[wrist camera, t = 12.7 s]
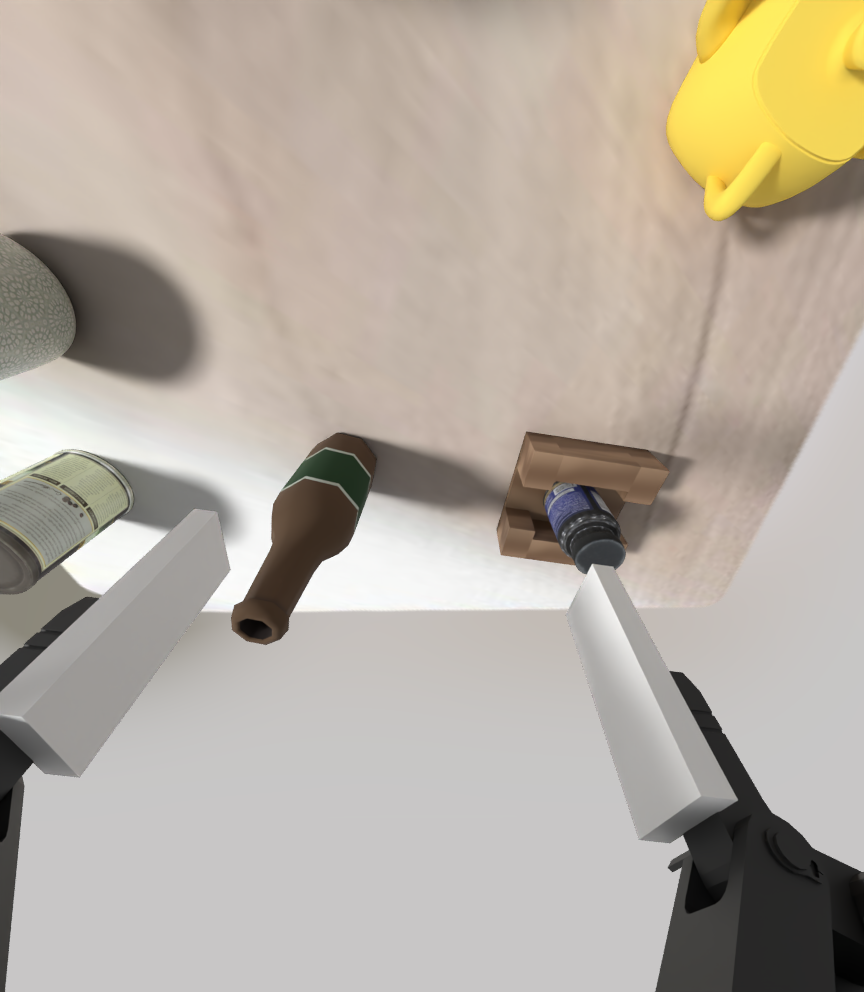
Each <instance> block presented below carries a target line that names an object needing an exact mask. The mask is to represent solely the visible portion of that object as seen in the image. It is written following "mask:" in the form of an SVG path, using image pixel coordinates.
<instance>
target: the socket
mask: <svg viewBox="0 0 864 992" xmlns="http://www.w3.org/2000/svg"><path fill="white" fill-rule="evenodd" d="M669 472H670V471H669V470H668V469H667V468H666V467H665V466H664V465H663V464H662V463H661V462H660V461H658V460H657V459H656V458H655V457H654V456H653V455H652V454H651V453H650V452H649V451H648V450H643V449H637V448H630V447H624V446H617V445H610V444H604V443H597V442H591V441H584V440H578V439H571V438H564V437H558V436H551V435H545V434H538V433H532V432H526V434H525V437H524V441H523V444H522V447H521V450H520V454H519V457H518V460H517V464H516V467H515V470H514V474H513V477H512V480H511V484H510V487H509V490H508V494H507V497H506V500H505V503H504V507H503V510H502V513H501V517H500V520H499V523H498V527H497V535H498V541H499V547H500V553H501V555H504V556H511V557H518V558H526V559H533V560H540V561H547V562H554V563H562V564H569V565H575V563H574V561H573V559H572V558H570V557H569V556H567V555H566V554H565V553H564V552H563V551H562V549H561V547H560V545H559V543H558V540H557V538H556V536H555V533H554V531H553V528H552V526H551V523H550V521H549V518H548V516H547V513H546V511H545V508H544V505H543V498H544V495H545V492H546V490H550V491H551V489H552V486H553V484H554V483H555V482H556V481H558V482H565V483H571V484H578V485H585V486H592V487H594V488H595V489H596V491H597V492H598V494H599V495H600V497H601V498H602V500H603V501H604V503H605V504H606V506H607V507H608V509H609V510H610V512H611V513H612V515H613V516H614V518H615V519H617V517H618V515H619V513H620V511H621V509H622V507H623V506H624V504H625V502H632V503H639V504H646V505H651V504H652V502H653V500H654V499H655V497H656V495H657V493H658V491H659V490H660V488H661V486H662V484H663V483H664V481H665V479H666V477H667V476H668V474H669ZM620 541H621V542H622V544H623V546H624V548H625V549H626V548H627V546H628V544H627V542H626V540H625V539H624V537H623V536H622V534H621V535H620Z"/></svg>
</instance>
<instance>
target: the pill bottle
mask: <svg viewBox="0 0 864 992" xmlns="http://www.w3.org/2000/svg"><path fill="white" fill-rule="evenodd" d="M543 505H544V508H545V511H546V513H547V516H548V518H549V521H550V523H551V526H552V528H553V531H554V533H555V536H556V538H557V540H558V543H559V545H560V547H561V549H562V551H563V552H564V553H565V554H566V555H567V556H569V557H570V558H572V559H573V561H574V563H575V565H576V567H577V568H578V570H579V571H581V572H582V573H584V574H587V573H588V571H589V569H590V567H591V565H592V564H597V565H605V566H612V567H614V569H615V570H616V569H617V568H618V567H619V566H620V565H621V564H622V563H623V561H624V559H625V556H626V552H625V548H624V546H623V544H622V542H621V541H620V535H621V531H620V526H619V524H618V522H617V521H616V519H615V518H614V516H613V515H612V513H611V512H610V510H609V509H608V507H607V506H606V504H605V503H604V501H603V500H602V498H601V497H600V495H599V494H598V492H597V491H596V489H595V488H594V487H592V486H585V485H578V484H571V483H565V482H558V481H556V482H555V483H554V484H553V486H552V489H551V491H550V490H546V492H545V495H544V498H543Z"/></svg>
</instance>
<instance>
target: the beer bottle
mask: <svg viewBox="0 0 864 992" xmlns="http://www.w3.org/2000/svg"><path fill="white" fill-rule="evenodd" d="M376 460H377V459H376V457H375V456H374V454H373V453H372V452H371V450H370V449H369V448H368V446H367V445H366V444H365V442H364V441H363V440H362V439H360V438H356V437H352V436H348V435H344V434H340V433H336V434H334V435H332V436H331V437H329V438H327V439H326V440H324V441H322V442H321V443H319V444H317V446H316V447H315V448H314V449H313V450H312V451H311V452H310V453H309V455H308V456H307V457H306V459H305V460H304V461H303V463H302V464H301V465H300V467H299V468H298V469H297V471H296V472H295V473H294V475H293V476H292V477H291V479H290V480H289V481H288V482H287V484H286V485H285V486H284V488H283V489H282V490H281V492H280V493H279V495H278V497H277V498H276V500H275V502H274V504H273V511H272V533H271V540H272V543H273V544H272V546H271V549H270V551H269V553H268V555H267V557H266V559H265V561H264V563H263V565H262V566H261V568H260V570H259V572H258V574H257V576H256V578H255V580H254V582H253V583H252V585H251V587H250V589H249V591H248V593H247V595H246V597H245V598H244V600H243V602H241V603H238V604H236V605H234V609H233V613H232V617H231V621H232V630H233V631H234V632H235V633H237V634H238V635H239V636H241V637H242V638H243V639H245V640H246V641H249V642H254V643H259V644H264V645H267V644H269V643H272V642H275V641H277V640H280V639H281V638H282V637H283V635H284V634H285V633H286V632H287V631H288V628H289V627H288V626H289V617H290V615H291V613H292V611H293V610H294V608H295V606H296V604H297V602H298V600H299V599H300V597H301V595H302V593H303V591H304V590H305V588H306V586H307V584H308V582H309V580H310V579H311V577H312V575H313V573H314V572H315V570H316V569H317V568H318V566H319V565H320V564H321V562H322V561H324V560H326V559H329V558H331V557H333V556H335V555H337V554H339V553H340V552H341V551H342V550H343V549H345V548H346V547H347V546H348V545H349V543H350V541H351V539H352V537H353V535H354V532H355V529H356V527H357V524H358V521H359V518H360V516H361V513H362V510H363V507H364V505H365V502H366V499H367V497H368V494H369V491H370V488H371V485H372V481H373V476H374V471H375V466H376Z"/></svg>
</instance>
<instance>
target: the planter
mask: <svg viewBox="0 0 864 992" xmlns="http://www.w3.org/2000/svg"><path fill="white" fill-rule="evenodd" d="M75 332H76V319H75V314H74V310H73V307H72V304H71V301H70V299H69V297H68V295H67V293H66V291H65V290H64V288H63V286H62V285H61V283H60V282H59V281H58V279H57V278H56V277H55V275H54V274H53V273H52V272H51V271H50V270H49V269H48V267H47V266H46V265H45V264H44V263H43V262H41V261H40V260H39V259H38V258H37V257H36V256H35V255H34V254H32V253H31V252H30V251H29V250H27V249H26V248H24V247H23V246H21V245H20V244H18V243H17V242H15V241H13V240H12V239H10V238H8V237H6V236H4V235H2V234H0V380H3V379H6V378H9V377H11V376H14V375H17V374H20V373H23V372H26V371H29V370H31V369H34V368H37V367H39V366H42V365H44V364H46V363H48V362H51V361H53V360H55V359H57V358H58V357H60V356H61V355H63V354H64V353H65V352H66V351H67V350H68V349H69V347H70V346H71V344H72V342H73V340H74V337H75Z"/></svg>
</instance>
